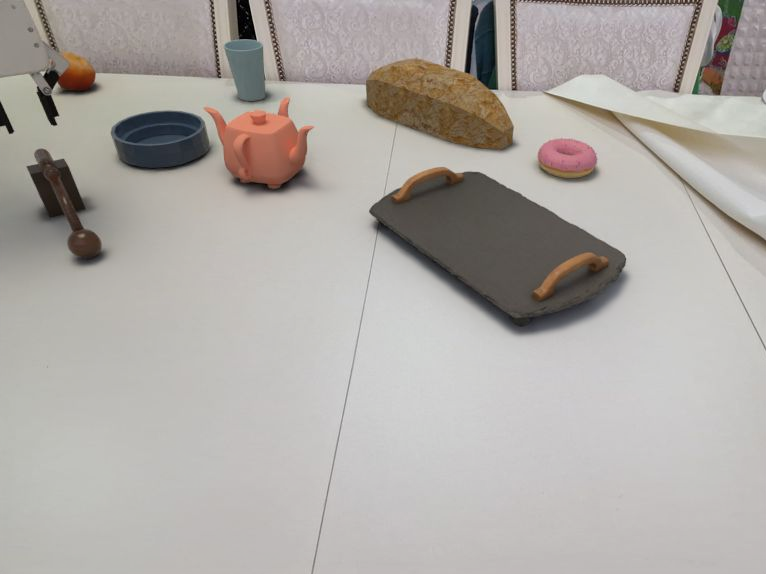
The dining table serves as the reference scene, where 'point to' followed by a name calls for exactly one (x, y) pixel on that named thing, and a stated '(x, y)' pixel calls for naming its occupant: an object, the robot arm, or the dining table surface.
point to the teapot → (262, 145)
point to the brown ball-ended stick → (68, 210)
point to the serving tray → (500, 242)
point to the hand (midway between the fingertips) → (31, 124)
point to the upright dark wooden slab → (48, 192)
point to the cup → (247, 68)
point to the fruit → (76, 74)
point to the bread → (440, 103)
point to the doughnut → (567, 158)
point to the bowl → (160, 138)
